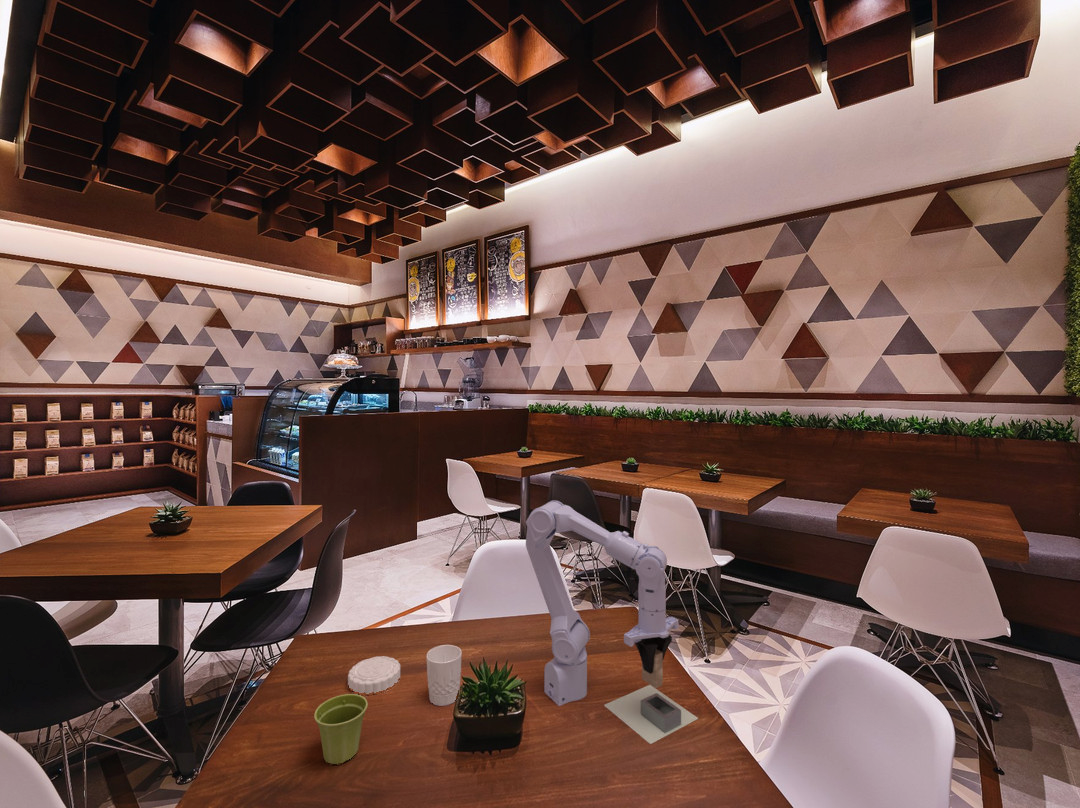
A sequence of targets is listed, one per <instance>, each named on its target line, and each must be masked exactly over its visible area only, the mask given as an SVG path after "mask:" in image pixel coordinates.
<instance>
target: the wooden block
mask: <svg viewBox="0 0 1080 808" xmlns="http://www.w3.org/2000/svg"><path fill="white" fill-rule="evenodd" d="M663 664H664V659H663V653H662V652H661V651H659V650H657V649H656V652H655V656H654V668H653V673H651V674H650V673H648V672H647V671H645V670H644V668H643V664H642V663H641V667H642V668H641V679H642V680H643V681H644V682H646V683H647V684H649V685H651V686H652V687H654V688H655V689H657V688H661V687H662V686H663V684H664V683H663V677H664V676H663V675H664V674H663V672H664V671H663V668H664V667H663V666H664V665H663Z"/></svg>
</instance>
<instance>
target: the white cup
mask: <svg viewBox="0 0 1080 808" xmlns="http://www.w3.org/2000/svg"><path fill="white" fill-rule="evenodd" d="M462 653H463V652H462V649H461V648H460V647H459V646H456V645H453V644H441V645H437V646H434V647H432V648H430V649H429V650H428V651H427V653H426V674H427V676H426V677H427V687H428V699H429V702H430V703H431V704H432V703H433V705H434V706H438V707H442V706H443V707H444V706H449V705H451V704H454V703H455V702H456V701H457V700H456V696H457V693H458V690H459V691H460V686H461V675H462ZM455 700H456V701H455Z"/></svg>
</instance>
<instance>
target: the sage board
mask: <svg viewBox="0 0 1080 808" xmlns="http://www.w3.org/2000/svg"><path fill="white" fill-rule="evenodd" d="M656 693H657V694H659V695H660V696H662V697H663V698H665V699H666V700H667V701H669V702H670V703H672V704H673V705H675V706H676V707H677V708H679V709H680V710H681V725H680V726H678V727H676V728H674V729H672V730H670V731H668V732H666V733H664V732H662V731H661V730H660V729H659V728H657V727H656V726H655V725H653V724H652V723H651V722H650V721H648V720H647V719H646V718H645V717H643V716H642V715H641V700H643V699H645V698H647V697H649V696H651V695H653V694H656ZM603 706H604V707H605V708H606V709H608V710H609V711H610V712H611V713H613V715H615V717H617V718H619V719H620V720H621V721H622V722H623V723H624V724H626V725H627V726H628V727H629V728H630V729H631V730H633V731H634V732H635V733H637V735H638V736H639V737H641V738H642V739H643V740H645V741H646V742H647V743H648V744H650V745H652V744H654V743H656V742H658V741H659V740H661V739H662V738H665V737H667V736H669V735H671V734H672V733H674V732H676V731H678V730H680V729H683V727H685V726H688V725H689V724H690V723H693V722H694V721H697V720H699V717H698V716H696V715H694V714H693V713H692V712H690V711H688V710H687V709H685V708H684V707H683V706H682V705H680V704H678V703H677V702H676V701H674V700H673V699H671V698H670V697H668V696H667V695H665V694H664V693H663V692H661V691H660V690H659V689H657V688H654V687H653V686H652V685H650V684H649V685H646V686H644V687H641V688H639V689H637V690H635V691H632V692H631V693H628V694H626V695H624V696H621V697H619V698H616V699H614V700H612V701H610V702H607V703H605V704H603Z"/></svg>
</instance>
